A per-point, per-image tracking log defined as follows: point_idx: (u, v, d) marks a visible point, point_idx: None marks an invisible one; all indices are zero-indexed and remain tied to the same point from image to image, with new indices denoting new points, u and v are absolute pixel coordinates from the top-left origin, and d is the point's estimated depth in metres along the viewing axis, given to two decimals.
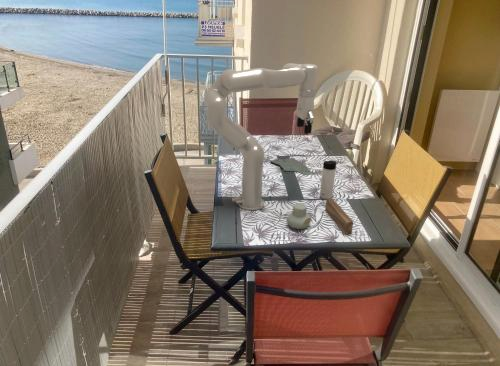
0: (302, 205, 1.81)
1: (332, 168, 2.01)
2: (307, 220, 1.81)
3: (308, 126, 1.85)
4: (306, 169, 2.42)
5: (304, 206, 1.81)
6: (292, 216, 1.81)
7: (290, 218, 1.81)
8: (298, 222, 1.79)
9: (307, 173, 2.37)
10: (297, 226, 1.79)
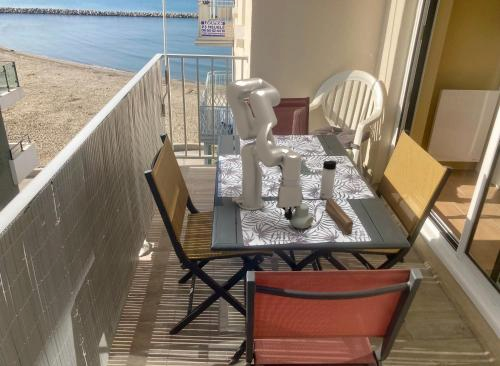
0: (304, 205, 1.81)
1: (332, 168, 2.01)
2: (309, 220, 1.82)
3: None
4: (306, 169, 2.42)
5: (306, 206, 1.81)
6: (294, 216, 1.81)
7: (292, 217, 1.81)
8: (300, 222, 1.79)
9: (307, 173, 2.37)
10: (299, 226, 1.79)
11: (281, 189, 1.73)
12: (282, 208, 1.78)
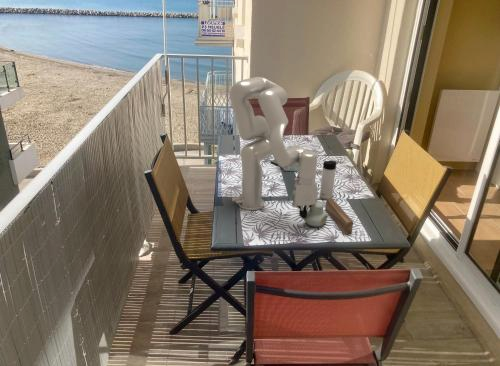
0: (318, 203, 1.83)
1: (332, 168, 2.01)
2: (324, 218, 1.83)
3: None
4: None
5: (321, 204, 1.83)
6: (309, 214, 1.83)
7: (307, 216, 1.83)
8: (316, 220, 1.81)
9: None
10: (315, 224, 1.81)
11: (297, 188, 1.74)
12: (297, 206, 1.80)
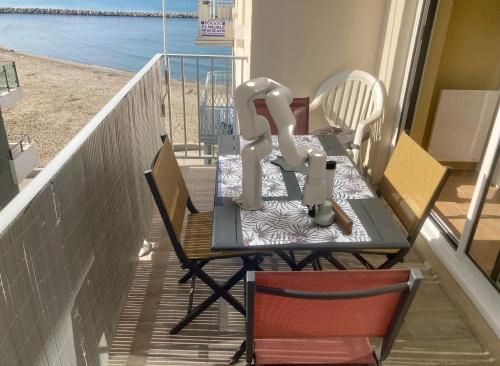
0: (327, 202, 1.84)
1: (332, 168, 2.01)
2: (332, 216, 1.85)
3: None
4: (306, 169, 2.42)
5: (329, 203, 1.84)
6: (318, 213, 1.84)
7: (316, 215, 1.84)
8: (324, 219, 1.82)
9: None
10: (323, 223, 1.82)
11: (306, 187, 1.75)
12: None
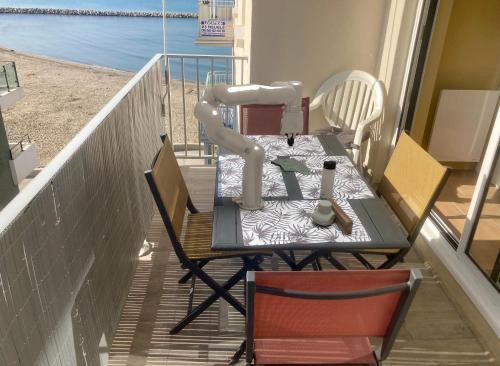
0: (327, 202, 1.84)
1: (332, 168, 2.01)
2: (332, 216, 1.85)
3: None
4: (306, 169, 2.42)
5: (329, 203, 1.84)
6: (317, 213, 1.84)
7: (316, 215, 1.84)
8: (324, 219, 1.82)
9: (307, 173, 2.37)
10: (323, 223, 1.82)
11: (284, 115, 1.91)
12: None
